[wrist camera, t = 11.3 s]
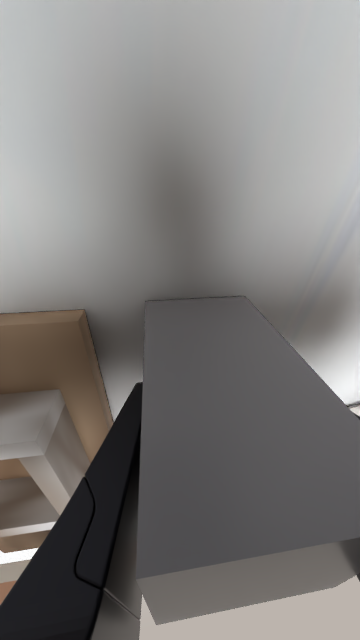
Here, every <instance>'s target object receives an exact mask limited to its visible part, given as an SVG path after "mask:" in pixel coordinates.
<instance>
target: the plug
mask: <svg viewBox="0 0 360 640" xmlns="http://www.w3.org/2000/svg"><path fill="white" fill-rule="evenodd" d="M359 573H360V420H359V419H358V418H357V417H356V416H355V414H354V413H353V412H352V411H351V410H350V409H349V408H348V407H347V406H346V405H345V404H344V403H343V401H342V400H341V399H340V398H339V397H338V396H337V395H336V394H335V393H334V392H333V391H332V390H331V389H330V387H329V386H328V385H327V384H326V383H325V382H324V381H323V380H322V379H321V378H320V377H319V376H318V375H317V373H316V372H315V371H314V370H313V369H312V368H311V367H310V366H309V365H308V364H307V363H306V362H305V361H304V359H303V358H302V357H301V356H300V355H299V354H298V353H297V352H296V351H295V350H294V349H293V348H292V346H291V345H290V344H289V343H288V342H287V341H286V340H285V339H284V338H283V337H282V336H281V335H280V334H279V332H278V331H277V330H276V329H275V328H274V327H273V326H272V325H271V324H270V323H269V322H268V321H267V320H266V318H265V317H264V316H263V315H262V314H261V313H260V312H259V311H258V310H257V309H256V308H255V307H254V306H253V304H252V303H251V302H250V301H249V300H248V299H247V298H246V297H245V296H238V297H218V298H198V299H179V300H159V301H146V307H145V335H144V364H143V392H142V420H141V449H140V477H139V506H138V534H137V563H136V581H137V583H138V585H139V588H140V590H141V592H142V594H143V597H144V599H145V601H146V603H147V606H148V608H149V610H150V612H151V615H152V617H153V619H154V621H155V624H156V625H159V624H164V623H168V622H173V621H178V620H183V619H187V618H192V617H197V616H202V615H206V614H211V613H216V612H220V611H225V610H230V609H235V608H239V607H243V606H249V605H253V604H258V603H263V602H267V601H272V600H277V599H282V598H286V597H291V596H296V595H300V594H305V593H309V592H314V591H319V590H324V589H328V588H333V587H336V586H338V585H340V584H341V583H343V582H345V581H347V580H348V579H350V578H352V577H353V576H355V575H357V574H359Z"/></svg>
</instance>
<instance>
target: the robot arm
mask: <svg viewBox="0 0 360 640" xmlns="http://www.w3.org/2000/svg"><path fill="white" fill-rule="evenodd" d="M142 392H143V382H139V383H136V385H135V386H134V388H133V390H132V392H131V393H130V395H129V397H128V399H127V400H126V402H125V404H124V406H123V407H122V409H121V411H120V413H119V415H118V416H117V418H116V420H115V422H114V423H113V425H112V427H111V429H110V430H109V432H108V434H107V436H106V437H105V439H104V441H103V443H102V444H101V446H100V448H99V450H98V452H97V453H96V455H95V457H94V459H93V460H92V462H91V464H90V466H89V467H88V469H87V471H86V473H85V477H83V478H82V479H81V481H80V483H79V485H78V487H77V488H76V490H75V492H74V493H73V495H72V497H71V499H70V500H69V502H68V504H67V505H66V507H65V509H64V510H63V512H62V514H61V515H60V517H59V518H58V520H57V521H56V523H55V524H54V526H53V527H52V529H51V530H50V532H49V533H48V535H47V537H46V538H45V540H44V541H43V543H42V544H41V546H40V547H39V548H38V550H37V551H36V553H35V554H34V556H33V557H32V559H31V560H30V562H29V563H28V565H27V566H26V568H25V569H24V571H23V572H22V574H21V575H20V577H19V578H18V580H17V581H16V582H15V584H14V585H13V587H12V588H11V590H10V591H9V593H8V594H7V596H6V597H5V599H4V600H3V602H2V603H1V605H0V640H139V631H140V615H141V601H142V592H141V590H140V588H139V585H138V583H137V581H136V563H137V534H138V506H139V477H140V449H141V420H142ZM354 414H355V413H354ZM355 416H356V417H357V418H358V419H359V420H360V416H358V415H357V414H355ZM357 577H358V579H359V581H360V573H359V574H357Z"/></svg>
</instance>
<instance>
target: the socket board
mask: <svg viewBox="0 0 360 640" xmlns="http://www.w3.org/2000/svg"><path fill="white" fill-rule="evenodd" d="M112 425H113V420H112V416H111V412H110V408H109V404H108V400H107V396H106V392H105V388H104V384H103V380H102V377H101V373H100V369H99V365H98V361H97V357H96V353H95V349H94V345H93V341H92V337H91V333H90V329H89V326H88V322H87V318H86V314H85V310H67V311H47V312H28V313H8V314H0V550H1V551H2V552H4V553H8V552H14V551H20V550H27V549H33V548H39V547H40V546H41V544H42V543H43V541H44V540H45V538H46V537H47V535H48V533H49V532H50V530H51V529H52V527H53V526H54V524H55V523H56V521H57V520H58V518H59V517H60V515H61V514H62V512H63V510H64V509H65V507H66V505H67V504H68V502H69V500H70V499H71V497H72V495H73V493H74V492H75V490H76V488H77V487H78V485H79V483H80V481H81V479H82V478H83V477H85V473H86V471H87V469H88V467H89V466H90V464H91V462H92V460H93V459H94V457H95V455H96V453H97V452H98V450H99V448H100V446H101V444H102V443H103V441H104V439H105V437H106V436H107V434H108V432H109V430H110V429H111V427H112Z"/></svg>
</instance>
